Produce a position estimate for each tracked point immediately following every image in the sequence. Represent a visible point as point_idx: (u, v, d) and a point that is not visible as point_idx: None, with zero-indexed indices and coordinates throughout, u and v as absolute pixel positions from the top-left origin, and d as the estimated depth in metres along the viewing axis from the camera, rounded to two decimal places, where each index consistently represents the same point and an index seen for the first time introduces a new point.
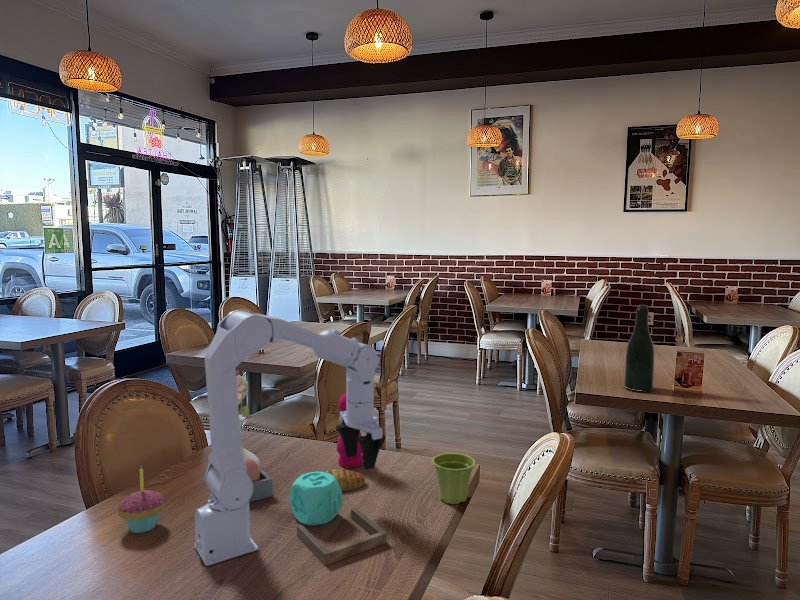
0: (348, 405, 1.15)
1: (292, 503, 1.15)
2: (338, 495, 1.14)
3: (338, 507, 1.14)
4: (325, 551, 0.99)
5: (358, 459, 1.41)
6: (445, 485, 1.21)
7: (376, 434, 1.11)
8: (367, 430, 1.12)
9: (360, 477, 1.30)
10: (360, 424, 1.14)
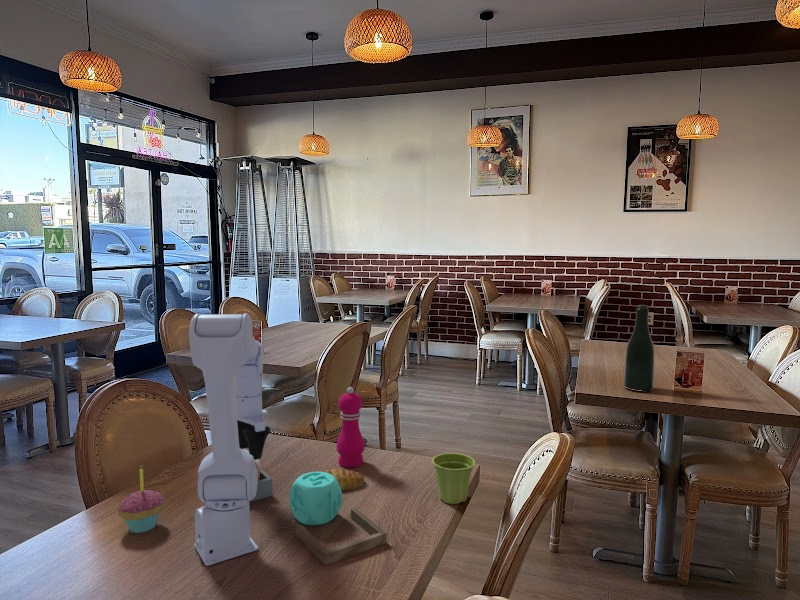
0: (236, 399, 1.21)
1: (292, 503, 1.15)
2: (338, 495, 1.14)
3: (338, 507, 1.14)
4: (325, 551, 0.99)
5: (358, 459, 1.41)
6: (445, 485, 1.21)
7: (258, 426, 1.17)
8: (251, 423, 1.18)
9: (360, 476, 1.30)
10: (246, 417, 1.21)
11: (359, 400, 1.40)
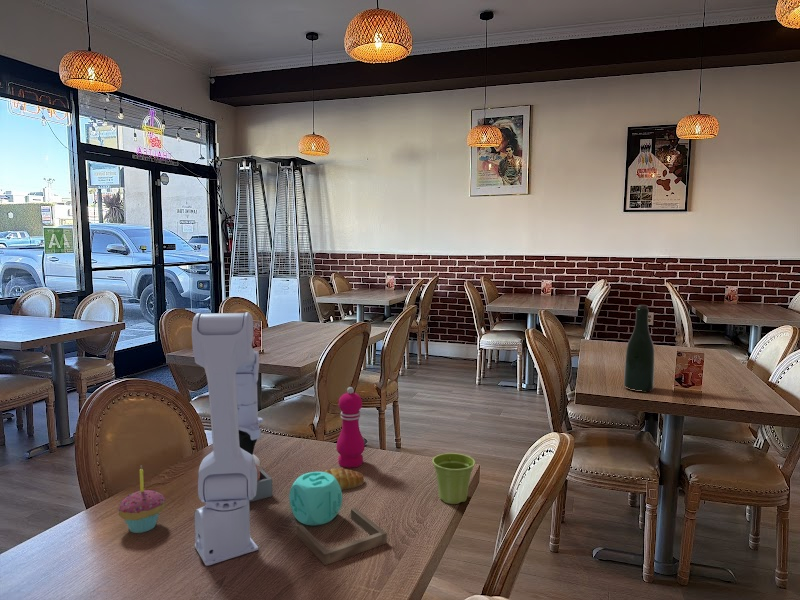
0: None
1: (292, 503, 1.15)
2: (338, 495, 1.14)
3: (338, 507, 1.14)
4: (325, 551, 0.99)
5: (358, 459, 1.41)
6: (445, 485, 1.21)
7: (254, 435, 1.18)
8: (246, 431, 1.19)
9: (359, 476, 1.31)
10: (242, 425, 1.21)
11: (359, 400, 1.40)
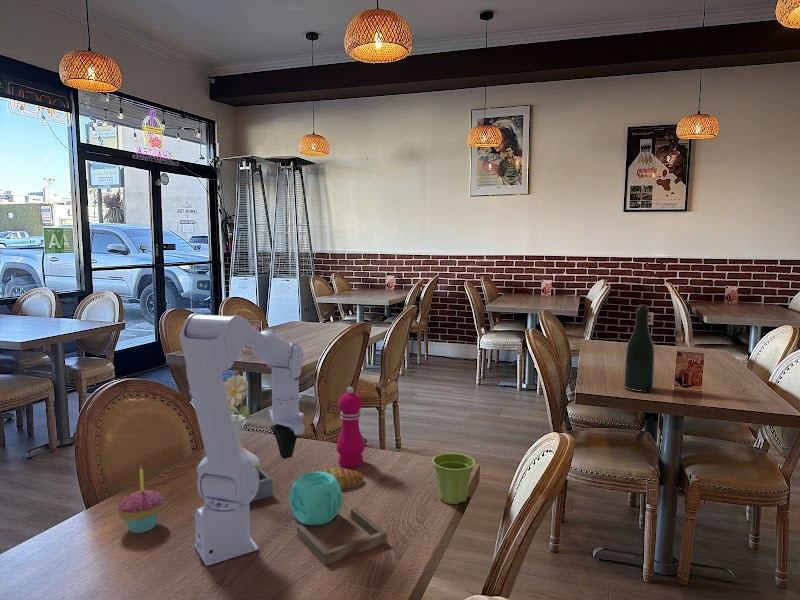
0: (273, 402, 1.20)
1: (292, 503, 1.15)
2: (338, 495, 1.14)
3: (338, 507, 1.14)
4: (325, 551, 0.99)
5: (358, 459, 1.41)
6: (445, 485, 1.21)
7: (298, 430, 1.16)
8: (290, 426, 1.17)
9: (358, 475, 1.31)
10: (284, 420, 1.19)
11: (359, 400, 1.40)
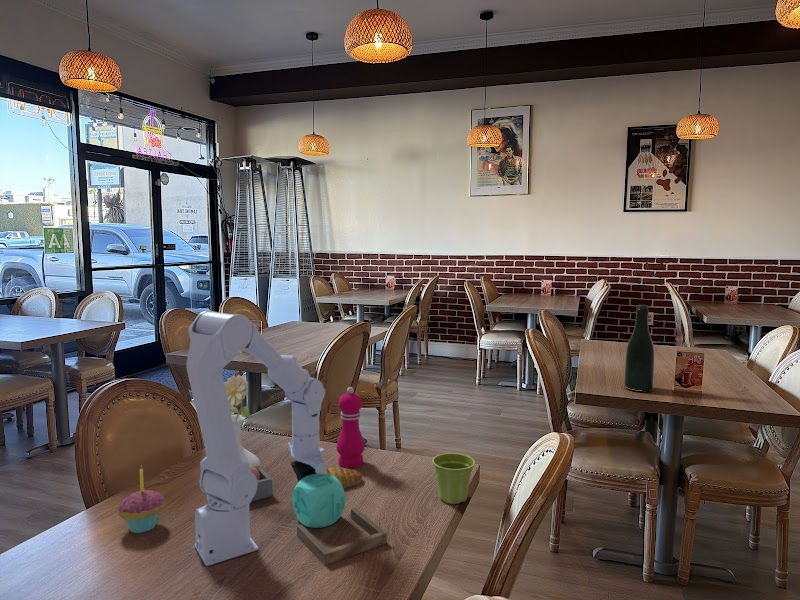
0: (293, 438, 1.16)
1: (295, 505, 1.14)
2: (341, 497, 1.13)
3: (341, 509, 1.13)
4: (325, 551, 0.99)
5: (358, 459, 1.41)
6: (445, 485, 1.21)
7: (319, 468, 1.12)
8: (311, 464, 1.13)
9: (357, 474, 1.31)
10: (305, 457, 1.15)
11: (359, 400, 1.40)
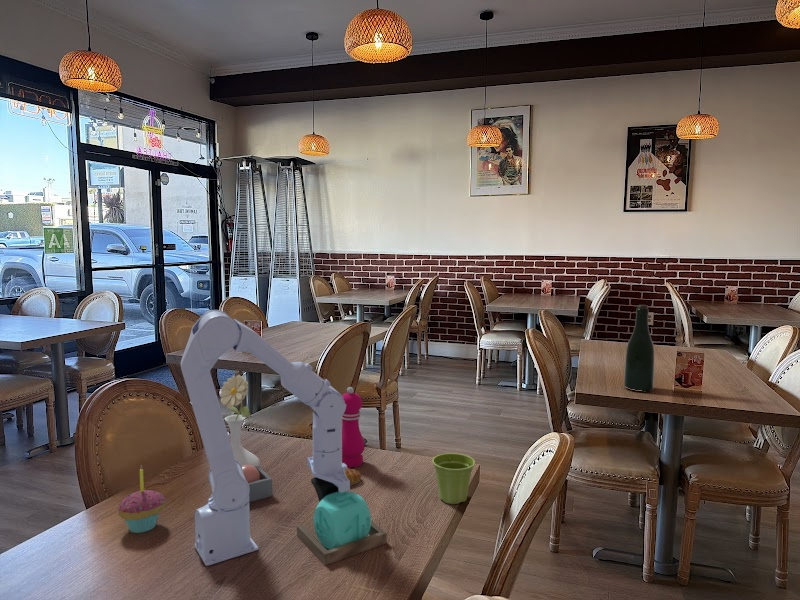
0: (314, 453, 1.08)
1: (316, 526, 1.06)
2: (367, 518, 1.05)
3: (367, 531, 1.05)
4: (325, 551, 0.99)
5: (358, 459, 1.41)
6: (445, 485, 1.21)
7: (343, 486, 1.04)
8: (333, 482, 1.05)
9: (357, 473, 1.32)
10: (327, 474, 1.07)
11: (359, 400, 1.40)
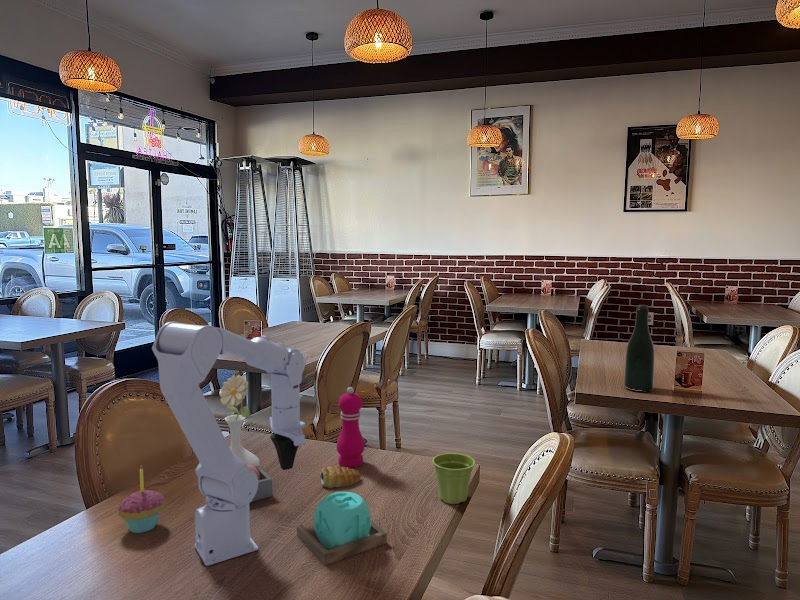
0: (272, 410, 1.14)
1: (316, 526, 1.06)
2: (367, 518, 1.05)
3: (367, 531, 1.05)
4: (325, 551, 0.99)
5: (358, 459, 1.41)
6: (445, 485, 1.21)
7: (298, 440, 1.10)
8: (289, 436, 1.11)
9: (356, 473, 1.32)
10: (284, 430, 1.13)
11: (359, 400, 1.40)
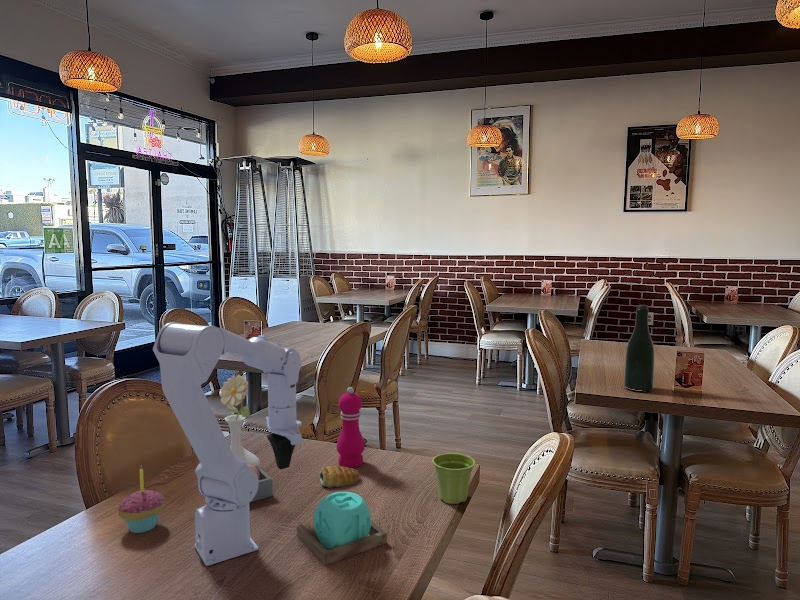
0: (269, 410, 1.14)
1: (316, 526, 1.06)
2: (367, 518, 1.05)
3: (367, 531, 1.05)
4: (325, 551, 0.99)
5: (358, 459, 1.41)
6: (445, 485, 1.21)
7: (294, 439, 1.10)
8: (286, 435, 1.11)
9: (355, 472, 1.32)
10: (281, 429, 1.13)
11: (359, 400, 1.40)
